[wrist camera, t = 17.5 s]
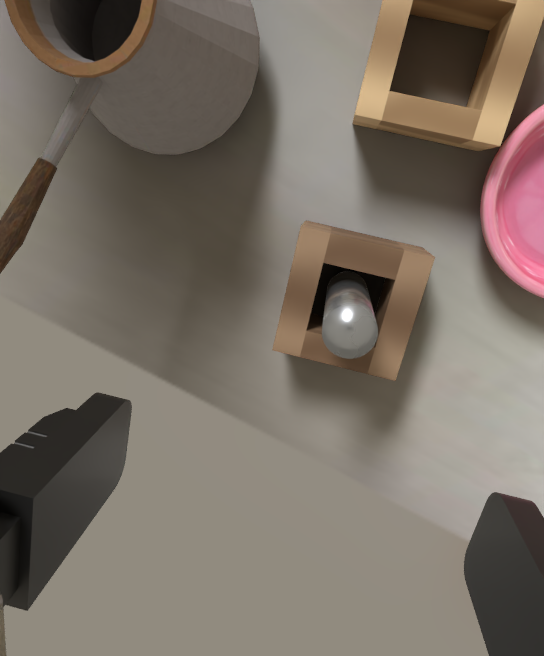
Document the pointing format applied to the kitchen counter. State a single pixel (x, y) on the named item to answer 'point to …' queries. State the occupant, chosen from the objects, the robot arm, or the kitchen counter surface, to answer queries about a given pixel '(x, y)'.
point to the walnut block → (365, 256)
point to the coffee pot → (136, 78)
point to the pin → (348, 317)
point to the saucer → (517, 205)
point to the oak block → (489, 85)
